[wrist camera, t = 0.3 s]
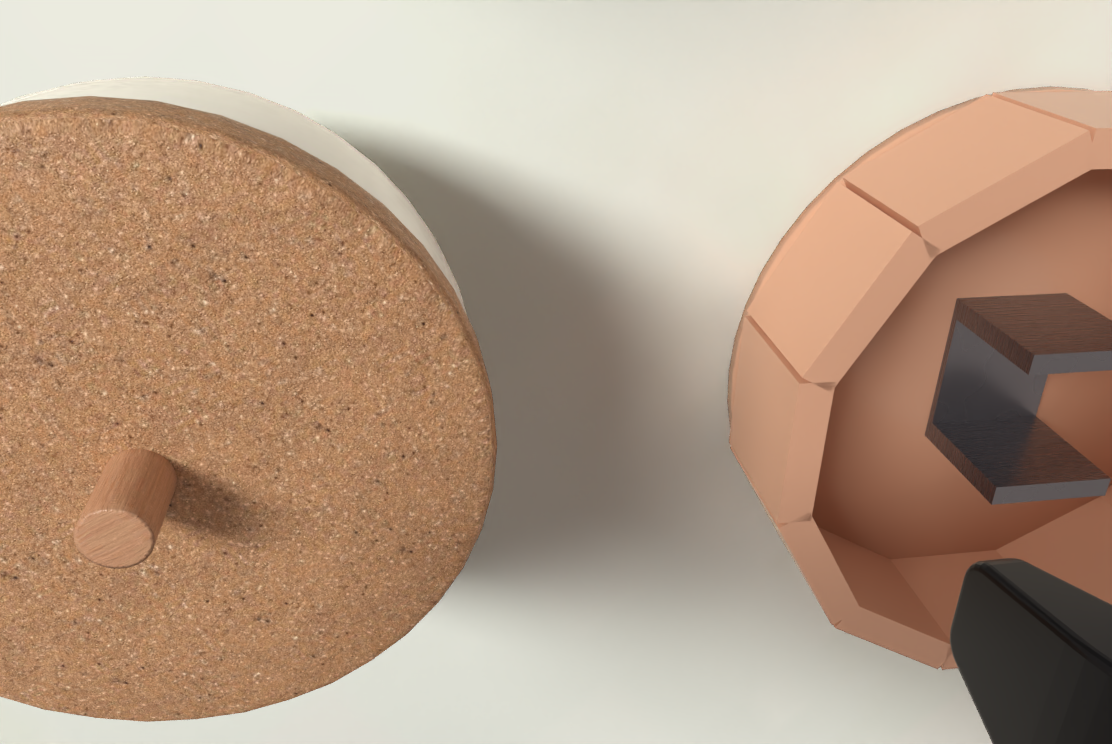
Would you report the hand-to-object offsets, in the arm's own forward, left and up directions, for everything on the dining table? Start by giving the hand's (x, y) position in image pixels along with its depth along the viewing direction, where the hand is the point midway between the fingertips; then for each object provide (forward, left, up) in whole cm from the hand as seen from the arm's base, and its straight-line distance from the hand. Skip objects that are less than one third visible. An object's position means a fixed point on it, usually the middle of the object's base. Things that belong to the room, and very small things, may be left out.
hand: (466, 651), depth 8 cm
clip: (-5, -15, -14) cm, 21 cm away
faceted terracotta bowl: (-5, -15, -14) cm, 21 cm away
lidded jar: (-2, +4, -15) cm, 15 cm away
